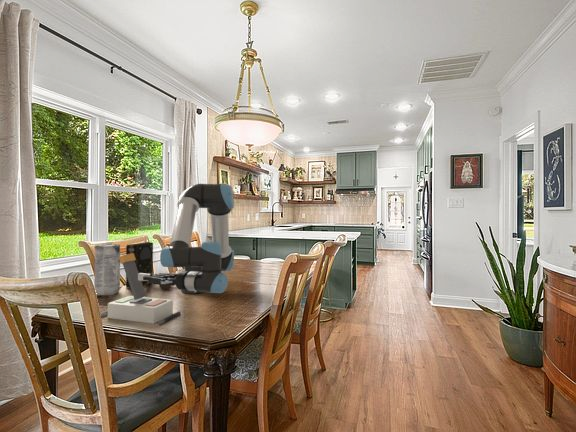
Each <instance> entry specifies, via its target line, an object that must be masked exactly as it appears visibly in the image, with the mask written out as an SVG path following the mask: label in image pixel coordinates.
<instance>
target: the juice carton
mask: <svg viewBox="0 0 576 432" xmlns="http://www.w3.org/2000/svg"><path fill="white" fill-rule="evenodd" d="M120 246H121V245H120V244H119V243H118V244H113V242H110V241H107V242H106V244H104V243H103V244H98V245H95V246H94V291H95V290H96V293H97V295H96V296H114V295H115V294H118V293H119V291H120V286H121V263H120V260H119V257H120V256H121V247H120Z"/></svg>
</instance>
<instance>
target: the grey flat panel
mask: <svg viewBox="0 0 576 432" xmlns="http://www.w3.org/2000/svg"><path fill="white" fill-rule="evenodd" d="M100 314H101V318H104V317H106V316H108V310H107V311H106V312H103V313H102V312H101V313H100ZM180 315H181V311H179V310H178V311H176V312H173V314H172V315H170V316H168V317H166V318H164V319H162V320H160V321H158V322H157V325H159V326H160V325H162V324H164V323H166V322H169V321H170V320H172V319H174V318H176V317H178V316H180Z"/></svg>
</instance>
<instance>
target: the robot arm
mask: <svg viewBox="0 0 576 432" xmlns="http://www.w3.org/2000/svg"><path fill="white" fill-rule="evenodd" d="M233 191H234V190H233V187H232V186H231V185H230V184H224V183H220V184H219V183H196V184H192V185H191V186H189V187H188V188H186V189H185V190H184V191H183V192H182V193H181V194H180V196H179V198H178V201H177V204H176V206H177V209H178V210H177V214H176V218H175V222H174V226H173V231H172V233H171V237H170V241H169V245H168V246H165V247H163V248H161V250H160V256H159V257H160V258H159V259H160V260H159V261H160V264H161V266H162V267H164V268H184V270H180V271H179V272H178V273H168V272H167V273H166V272H165V273H162V272H160V273H155V274H154V272H153V273H151V274H146V273H139V274H138V280H140V281H148V283H152V284H151V285H153V284H157V285H158V286H160V285H161V286H165V284H167V285H171V286H175V287H176V288H177V290H179V291H180V292H181V293H184V294H188V295H189V294H190V295H194V294H203V293H210V294H223V293H224V292H226V290H227V288H228V284H229V279H228V275H227V274H226V273H223V272H228V271H229V272H230V271H232V269H233V267H234V259H235V250H234V249H232V247H231V246H230V245H229V242H230V241H229V239H230V238H229V237H230V236H229V214H230V213H231V211H232V209H234V208H235V199H234V192H233ZM199 209H206V211H207V213H208V214H209V215H210V224H211V225H210V226H211V228H210V230H211V241H203V242H201V244H200V245H201V246H191V242H192V238H193V237H192V235H193V231H194V227H195V226H194V225H195V219H196V214H197V212H198V211H199ZM157 285H156V286H157Z"/></svg>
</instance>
